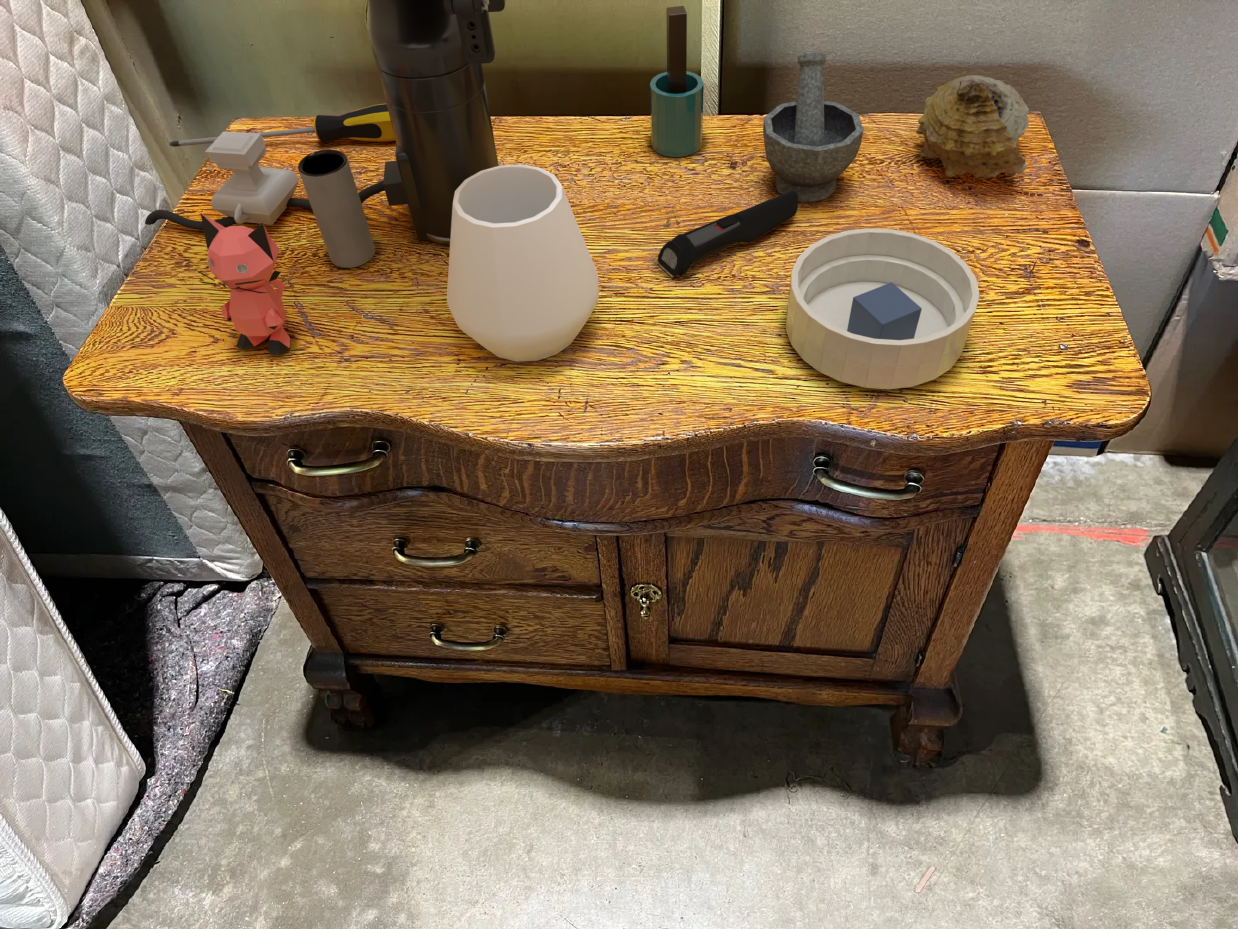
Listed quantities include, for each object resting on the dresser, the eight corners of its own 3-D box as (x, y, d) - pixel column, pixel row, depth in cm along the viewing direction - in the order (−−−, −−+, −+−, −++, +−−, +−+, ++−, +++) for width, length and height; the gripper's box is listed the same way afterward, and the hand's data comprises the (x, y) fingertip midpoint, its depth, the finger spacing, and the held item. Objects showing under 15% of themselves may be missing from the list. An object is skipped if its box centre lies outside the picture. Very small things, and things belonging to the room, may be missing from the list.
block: (874, 360, 76) (882, 324, 73) (846, 332, 79) (852, 296, 76) (912, 344, 77) (922, 308, 74) (883, 317, 80) (891, 281, 77)
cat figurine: (212, 353, 81) (167, 230, 73) (256, 313, 86) (219, 194, 78) (281, 367, 79) (244, 242, 71) (322, 325, 84) (291, 205, 76)
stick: (669, 144, 100) (669, 14, 89) (667, 136, 101) (666, 7, 91) (686, 142, 100) (687, 13, 89) (683, 134, 101) (684, 5, 91)
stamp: (273, 242, 93) (242, 168, 86) (215, 235, 94) (181, 162, 88) (311, 192, 98) (286, 120, 92) (256, 187, 100) (227, 115, 93)
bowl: (809, 404, 74) (817, 354, 70) (768, 287, 84) (773, 238, 80) (990, 382, 75) (1008, 332, 71) (928, 269, 85) (941, 219, 81)
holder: (655, 159, 99) (654, 98, 94) (648, 133, 103) (646, 73, 97) (706, 154, 99) (707, 93, 94) (697, 127, 103) (698, 67, 98)
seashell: (997, 30, 93) (918, 94, 101) (965, 81, 84) (882, 147, 92) (1062, 113, 95) (980, 169, 103) (1038, 171, 86) (950, 229, 94)
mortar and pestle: (858, 211, 91) (878, 97, 82) (764, 214, 92) (773, 101, 83) (842, 150, 98) (859, 40, 89) (755, 153, 99) (763, 43, 90)
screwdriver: (428, 125, 106) (180, 149, 108) (420, 97, 103) (166, 123, 105) (424, 140, 103) (171, 165, 105) (416, 112, 101) (157, 138, 103)
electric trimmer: (805, 226, 90) (809, 198, 88) (677, 282, 85) (677, 254, 83) (781, 208, 92) (784, 181, 90) (655, 262, 88) (654, 234, 85)
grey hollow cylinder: (383, 244, 92) (356, 152, 84) (361, 271, 89) (331, 178, 81) (344, 237, 93) (314, 145, 85) (321, 264, 90) (287, 171, 82)
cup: (615, 285, 86) (606, 151, 75) (586, 385, 77) (572, 250, 66) (478, 275, 88) (451, 143, 77) (436, 371, 79) (399, 238, 68)
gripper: (402, -249, 62) (450, -3, 74) (362, -187, 53) (424, 83, 65) (511, -257, 61) (541, -8, 74) (490, -196, 52) (528, 77, 65)
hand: (486, 34), depth 69 cm, fingers open, 8 cm apart
